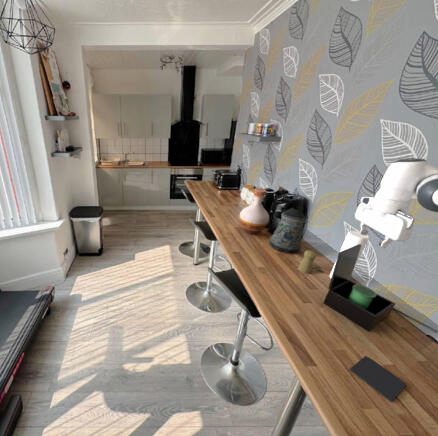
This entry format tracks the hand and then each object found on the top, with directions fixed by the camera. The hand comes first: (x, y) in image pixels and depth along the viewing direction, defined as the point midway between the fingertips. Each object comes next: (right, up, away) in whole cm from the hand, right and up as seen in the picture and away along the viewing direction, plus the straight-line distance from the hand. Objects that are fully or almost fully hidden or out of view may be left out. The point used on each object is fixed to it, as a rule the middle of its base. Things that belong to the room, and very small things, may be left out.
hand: (372, 240), depth 87 cm
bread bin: (0, -30, +8) cm, 31 cm away
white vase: (-14, -1, +72) cm, 74 cm away
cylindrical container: (+9, -22, +27) cm, 36 cm away
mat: (-14, -40, -16) cm, 46 cm away
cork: (-3, -19, +33) cm, 38 cm away
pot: (0, -29, +8) cm, 30 cm away
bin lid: (-3, -12, +8) cm, 14 cm away
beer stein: (-1, -9, +56) cm, 56 cm away
